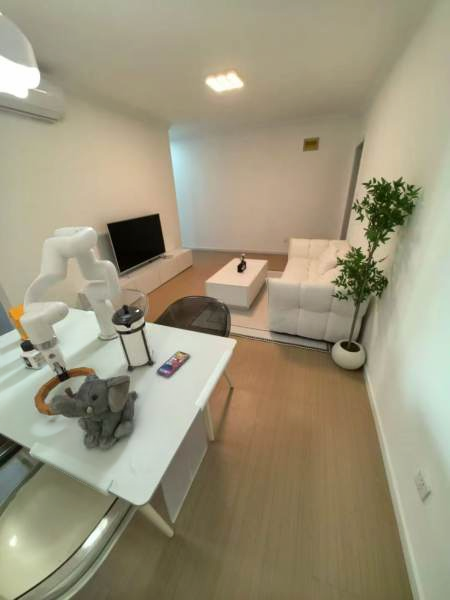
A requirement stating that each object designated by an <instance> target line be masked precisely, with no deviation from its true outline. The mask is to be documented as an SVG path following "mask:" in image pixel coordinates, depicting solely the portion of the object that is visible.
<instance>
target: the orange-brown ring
mask: <svg viewBox="0 0 450 600" xmlns="http://www.w3.org/2000/svg"><path fill="white" fill-rule="evenodd" d="M66 370H67V373H68V375H69V377H70V378H69V379H67V380H70V379H72V378H77V377H86V376H88V375H89V374H95V375H97V373H96V371H95V369H94V368H90V367H87V366H79V367H73V368H70V369H66ZM67 380H65V381H67ZM65 381H63V382H60V380H59V378H58V376H57V374H56V375H55V376H52V377H51V378H50V379H49V380H47V381H46V382H45V383H44V384H43V385H41V387H40V388H39V389H38V391H37V392H36V394H35V395H34V398H33V401H34V405H35V406H34V407H35V408H36V410H37V411H38V413H40V414H42V415H46V416H49V417H54V416H57V415H56V414H52V413H51V411H50V404H48V403H45V400H46V399H47V397H48V396H49V393H51V392H52V391H53V390H54V389H55V388H57V387H58V386H59V385H60V384H61V383H64V382H65ZM72 399H74V398H72Z"/></svg>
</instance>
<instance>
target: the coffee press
mask: <svg viewBox="0 0 450 600" xmlns="http://www.w3.org/2000/svg"><path fill="white" fill-rule="evenodd" d="M114 312H115V313H114V314H113V317H112V319H111V320H112V323H113V324H114V328H115V331H116V333H117V335H118V336H117V338H118V341H119V344H120V348H121V350H122V354H123V357H124V360H125V362H126V364H127V371H129V372H132V371H133V368H134V367H140V366H143V365H145V364H149V366H152V365H153V364H154V363H155V362H154V360H153V359H152V357H153V349H152V346H151V345H152V344H151V341H150V339H149V338H150V337H149V333H148V330H147V325H146V320H145V317H144V315H145V313H144V310H142V309H141V308H140V307H138V306H133V305H131V306H130V305H129V306H128V304H123V305H122V307H121V308H119V309H117V310H116V311H114Z"/></svg>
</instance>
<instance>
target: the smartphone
mask: <svg viewBox="0 0 450 600" xmlns="http://www.w3.org/2000/svg"><path fill="white" fill-rule="evenodd" d="M189 358H190V354H188V353H186V352H183V351H181V350H180V351H176V352H175V353H174V354H172V356H171V357H170V358H169V359H167V360H166V361H165V362H164V363H163V364H162V365H161V366H160V367H158V368H157V373H158V374H161V375H163V376H165V377H171V376H172V375H173V374H174V373H175V372H177V370H178V369H179V368H180V367H181V366H182V365H183V364H184V363H185V362H186V361H187V360H188V359H189Z"/></svg>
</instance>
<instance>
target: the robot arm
mask: <svg viewBox="0 0 450 600" xmlns="http://www.w3.org/2000/svg"><path fill="white" fill-rule="evenodd" d="M97 242H98V234H97V232H96V230H95V229H94V228H93V227H90V226H70V227H69V226H68V227H60V228H57V229H55V230H54V232H53V237H49V238H46V239H45V240H44V242H43V244H42V251H41V261H40V269H39V270H40V272H39V275H38V276H37V277H36V278H35V279H34V281H33V282H31V284H30V285H29V287H28V288H27V290H26V291H25V294H24V299H23V304H24V307H23V311H24V315H22V316H21V317H20V320H19V321H20V324H21V326H22V327H23V329H24V331H25V333H26V334H27V336H28V338H29V340H30V342H31V343H32V345H33V347H34V349H35V350H36V351H37V352H41V353H42V355H43V356H44V358H45V360H46V362H47V363H46V364H47V365H48V367H49V368H50V370H51V371H52V373H56V375H57V376H58V378H59V380H60V382H62V383H64V382H65V380H66V381H67V379H68V380H70V379H71V378H70V377H69V375H68V373H67V370H68V369H66V368H67V367H68V363H67V361H66V358H65V356H64V354H63V352H62V350H61V348H60V346H59V345H58V344H59V343H60V340H59V338H58V336H57V333H56V332H55V330H54V327H53V325H55V324H57V323H59V322H61V321H63V320H64V319H66V318H67V316H68V315H69V312H70V309H69V305H68V304H66V303H65V302H62V301H43V299H44V296H45V295H46V293H47V291H49V289H51V288H53V287H54V286H56V285H57V284H59V283H62V282H63V281H65V280H66V279H67V276H68V267H69V266H68V264H69V259H75V261H76V263H77V266H78V268H79V271H80V274H81V276H82V277H83V279H84V280H86V281H90V282H88V283H87V284H85V286H84V289H83V293H84V295H85V297H86V299H87V300H88V301H89V304H90V305H91V308H92V311H93V313H94V316H95V319H96V323H97V324H98V327H99V330H100V332H99V333H98V336H99V338H100V339H101V340H106V341H107V340H112V339H116V338H118V335H117V333H116V331H115V328H114V324H113V323H112V320H111V319H112V317H113V314H114V313H115V312H116V311H115V309H114V305H113V303H112V301H111V300H117V299H119V298H120V297H121V296H122V293H123V292H122V291H123V290H122V285H121V282H120V278H119V275H118V271H117V268H116V266H115V263H113V262H112V261H110V260H107V259H106V260H98V258H97V256H96V253H95V250H94V249H93V248H94V247H95V246H96V244H98V243H97ZM69 378H70V379H69ZM63 381H64V382H63Z"/></svg>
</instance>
